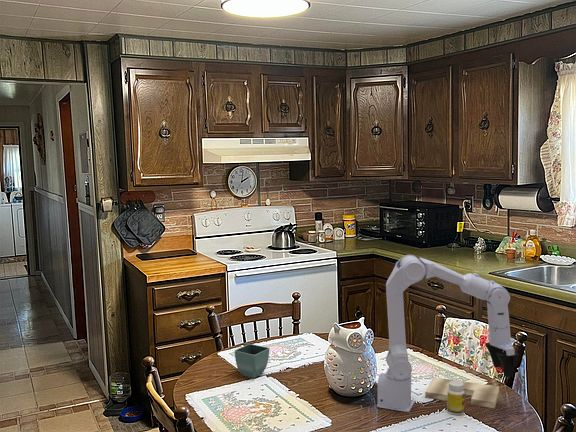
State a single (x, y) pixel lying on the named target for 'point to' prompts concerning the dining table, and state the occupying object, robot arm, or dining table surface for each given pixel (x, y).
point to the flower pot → (252, 360)
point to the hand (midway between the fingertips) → (503, 371)
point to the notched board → (479, 392)
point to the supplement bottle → (455, 398)
